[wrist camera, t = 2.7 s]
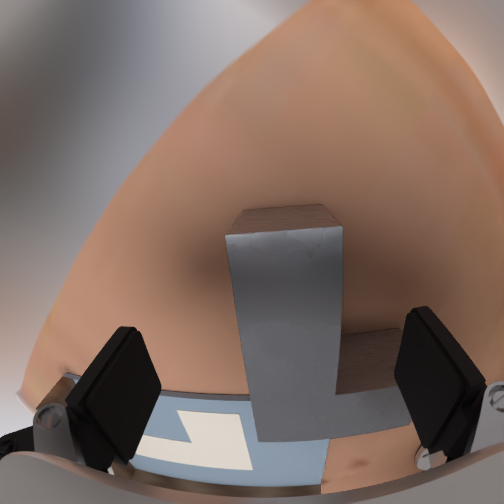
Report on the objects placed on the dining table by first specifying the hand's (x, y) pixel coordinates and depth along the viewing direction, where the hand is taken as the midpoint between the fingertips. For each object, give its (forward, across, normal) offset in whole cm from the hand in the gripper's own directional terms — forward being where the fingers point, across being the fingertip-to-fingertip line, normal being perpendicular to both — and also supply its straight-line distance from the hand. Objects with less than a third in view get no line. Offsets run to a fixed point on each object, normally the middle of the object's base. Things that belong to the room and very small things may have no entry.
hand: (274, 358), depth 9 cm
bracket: (+7, -3, +2) cm, 8 cm away
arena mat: (+6, +8, +18) cm, 21 cm away
